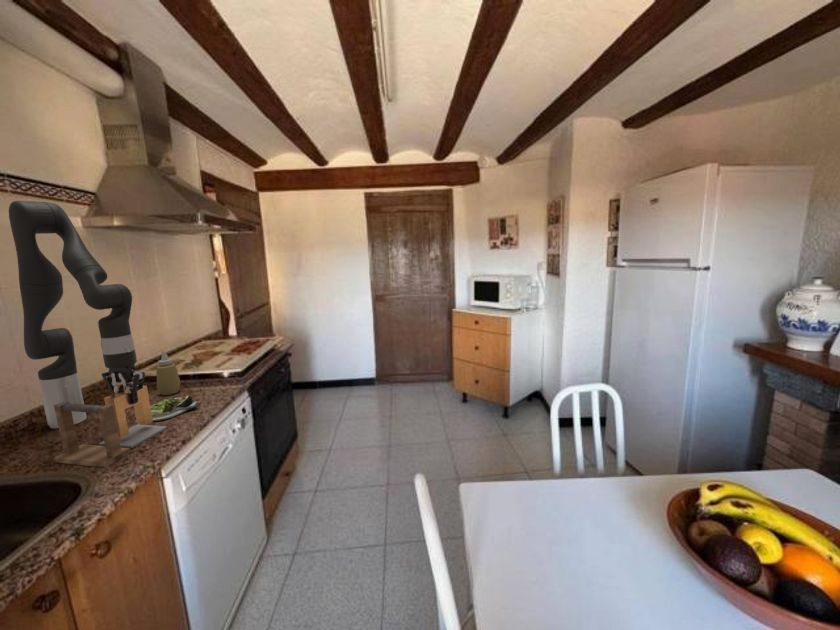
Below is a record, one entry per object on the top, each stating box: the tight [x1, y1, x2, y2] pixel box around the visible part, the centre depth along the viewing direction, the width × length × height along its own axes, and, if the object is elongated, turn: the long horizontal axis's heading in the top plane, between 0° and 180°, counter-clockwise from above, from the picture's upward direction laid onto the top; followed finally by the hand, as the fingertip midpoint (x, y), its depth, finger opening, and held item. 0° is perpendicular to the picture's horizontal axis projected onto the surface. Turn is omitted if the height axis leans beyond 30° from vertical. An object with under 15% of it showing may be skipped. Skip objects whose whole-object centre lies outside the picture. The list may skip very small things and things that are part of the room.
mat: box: [98, 423, 168, 449], centre depth 111 cm, size 12×12×1 cm
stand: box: [54, 402, 132, 468], centre depth 98 cm, size 17×7×16 cm, turn 80°
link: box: [103, 385, 154, 438], centre depth 109 cm, size 4×10×12 cm, turn 170°
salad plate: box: [134, 394, 199, 423], centre depth 127 cm, size 19×18×5 cm
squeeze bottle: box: [155, 351, 181, 396], centre depth 145 cm, size 8×8×18 cm
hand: (128, 403), depth 109 cm, fingers closed on link, 3 cm apart
